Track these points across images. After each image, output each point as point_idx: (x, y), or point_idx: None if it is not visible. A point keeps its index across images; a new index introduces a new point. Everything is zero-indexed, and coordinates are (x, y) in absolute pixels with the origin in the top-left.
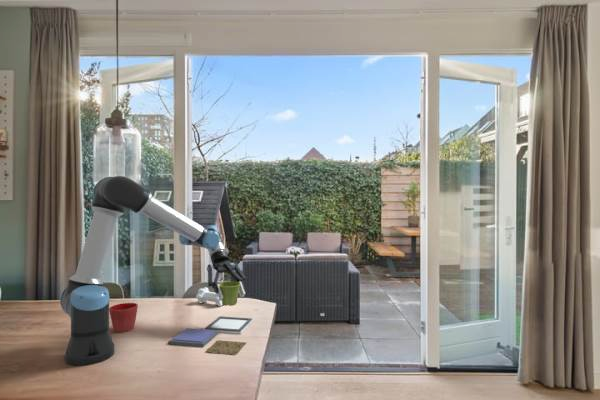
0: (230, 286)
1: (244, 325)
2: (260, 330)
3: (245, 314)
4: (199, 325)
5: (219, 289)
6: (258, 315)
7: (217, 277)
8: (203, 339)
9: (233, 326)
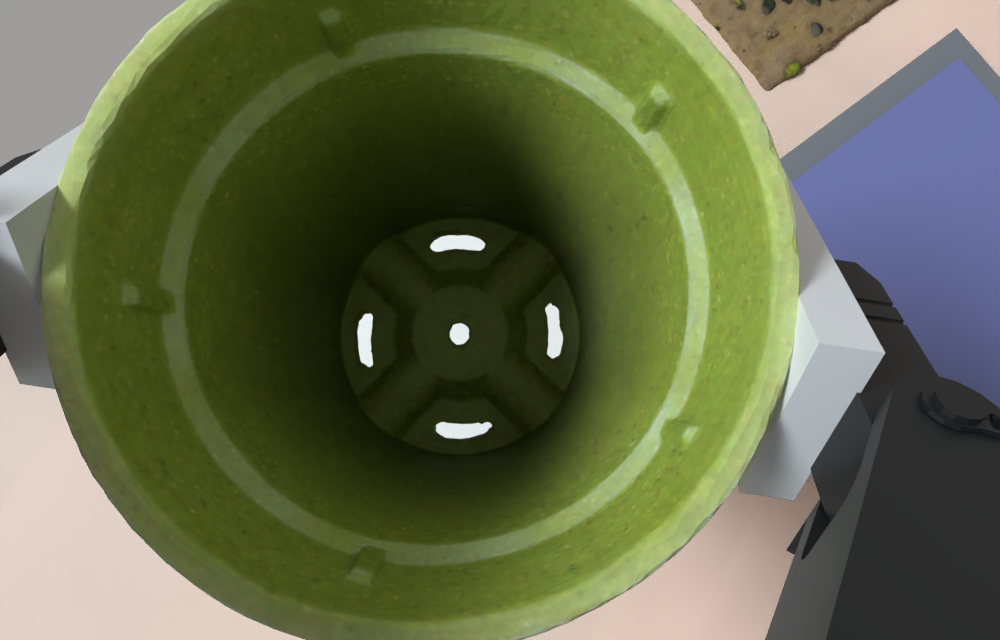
0: (277, 486)
1: None
2: None
3: (98, 587)
4: (717, 605)
5: (801, 230)
6: (14, 442)
7: (890, 624)
8: (928, 96)
9: None
